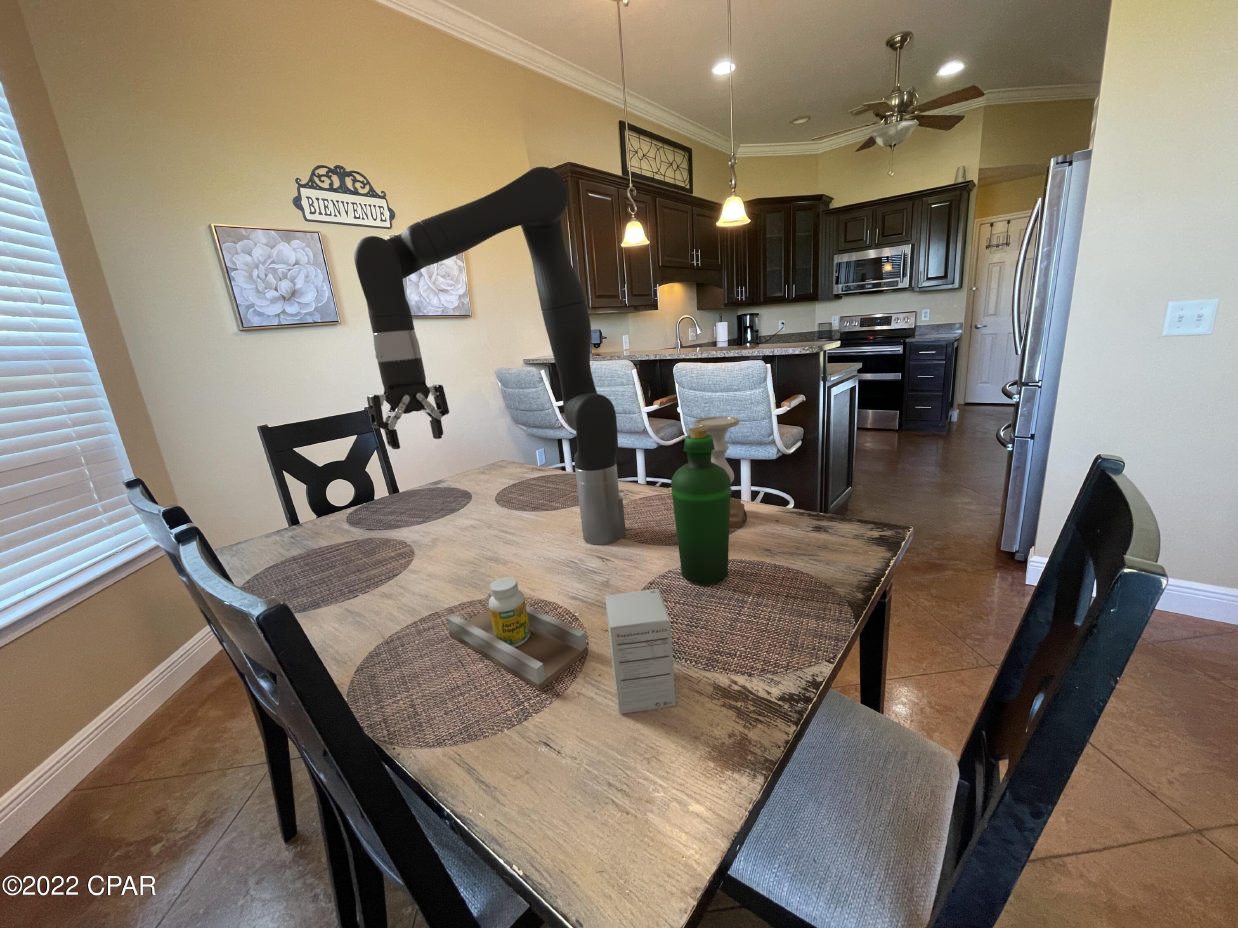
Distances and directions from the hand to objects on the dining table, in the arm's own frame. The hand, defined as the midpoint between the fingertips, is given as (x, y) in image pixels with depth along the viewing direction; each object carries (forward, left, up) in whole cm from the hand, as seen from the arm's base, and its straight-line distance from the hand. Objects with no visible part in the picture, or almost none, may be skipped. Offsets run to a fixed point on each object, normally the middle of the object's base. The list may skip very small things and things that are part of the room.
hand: (417, 443), depth 92 cm
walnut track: (-10, +31, -28) cm, 43 cm away
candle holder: (-63, +5, -28) cm, 69 cm away
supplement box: (-24, +49, -28) cm, 61 cm away
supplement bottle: (-10, +31, -27) cm, 42 cm away
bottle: (-46, +27, -28) cm, 60 cm away
